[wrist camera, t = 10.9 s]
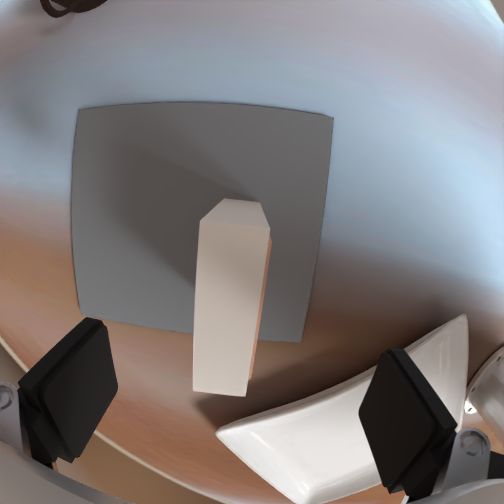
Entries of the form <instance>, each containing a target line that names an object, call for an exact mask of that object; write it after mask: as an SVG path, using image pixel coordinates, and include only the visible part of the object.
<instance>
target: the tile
mask: <svg viewBox="0 0 504 504" xmlns="http://www.w3.org/2000/svg"><path fill="white" fill-rule="evenodd" d="M271 245H272V240H271V237H270V227H269V224H268V222H267V219H266V217H265V214H264V212H263V209H262V207H261V204H260V202H253V201H244V200H235V199H226V198H224V199H223V200H222V201H221V202H220V203H219V204H217V205H216V206H215V207H214V208H213V209H212V210H211V211H210V212H209V213H208V214H207V215H206V216H205V217H204V218H202V219H201V220H200V227H199V240H198V253H197V269H196V287H195V308H194V338H193V391H199V392H206V393H214V394H222V395H232V396H243V397H245V396H246V390H247V384H248V379H251V376H252V370H253V364H254V357H255V351H256V345H257V339H258V332H259V326H260V319H261V313H262V306H263V300H264V293H265V286H266V279H267V273H268V266H269V259H270V252H271Z"/></svg>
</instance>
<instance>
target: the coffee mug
mask: <svg viewBox="0 0 504 504" xmlns="http://www.w3.org/2000/svg"><path fill="white" fill-rule="evenodd" d="M40 1H41V5H42V7H43V9H44V10H45V11H46V12H47V13H48V14H49V15H50V16H52V17H55V18H58V17H62V16H64V15H66V14H67V13H69V12H71V11H73V12H77V13H81V12H86V11H89V10H92V9H94V8H96V7H98V6H100V5H101V4H103V3H104V2H106V1H107V0H51V1H53V2H55V3H57V4H59V5H62V6H64V7H66V8H67V9H65V10H63V11H57V10H55V9H54V8H53V7H52V6H51V4H50V2H49V0H40Z"/></svg>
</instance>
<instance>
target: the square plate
mask: <svg viewBox="0 0 504 504" xmlns="http://www.w3.org/2000/svg"><path fill="white" fill-rule="evenodd" d="M468 347H469V340H468V321H467V316H466V315H465V314H461V315H459V316H458V317H456V318H454V319H452V320H450V321H449V322H447V323H445V324H443V325H442V326H440V327H438V328H437V329H435V330H433V331H431V332H430V333H428V334H427V335H425V336H423V337H422V338H420V339H419V340H417V341H415V342H414V343H412V344H411V345H409V346H408V347H406V348H405V349H404V350H405V351H406V352H407V354H408V355H409V356H410V358H411V359H412V360H413V362H414V363H415V364H416V366H417V367H418V368H419V370H420V371H421V372H422V374H423V375H424V376H425V378H426V379H427V381H428V382H429V383H430V385H431V386H432V387H433V389H434V390H435V392H436V393H437V395H438V396H439V397H440V399H441V400H442V402H443V403H444V405H445V406H446V407H447V409H448V410H449V412H450V413H451V415H452V416H453V418H454V419H455V421H456V422H457V424H458V426H457V427H456V429H455V431H456V433H458V432H459V431H460V430H461V426H462V419H463V412H464V404H465V395H466V385H467V371H468ZM376 367H377V365H376V366H374V367H372V368H370V369H368V370H366V371H365V372H363V373H361V374H359V375H357V376H355V377H353V378H351V379H349V380H347V381H345V382H342V383H340V384H338V385H336V386H333V387H331V388H329V389H326V390H324V391H321V392H319V393H317V394H314V395H311V396H309V397H306V398H304V399H301V400H298V401H295V402H292V403H289V404H286V405H283V406H280V407H277V408H273V409H270V410H267V411H264V412H261V413H258V414H255V415H251V416H248V417H245V418H242V419H239V420H236V421H234V422H231V423H229V424H227V425H225V426H221V427H220V428H219V429H218V430H217V431H216V432H215V434H216V436H217V437H218V438H219V439H220V440H221V441H222V442H223V443H224V444H225V445H226V446H227V447H228V448H229V449H230V450H231V451H232V452H233V453H234V454H235V455H236V456H237V457H239V458H240V459H241V460H242V461H243V462H244V463H245V464H246V465H248V466H249V467H250V468H251V469H252V470H253V471H255V472H256V473H257V474H258V475H260V476H261V477H262V478H263V479H264V480H266V481H267V482H268V483H269V484H271V485H272V486H273V487H274V488H276V489H277V490H278V491H280V492H281V493H282V494H283V495H285V496H286V497H287V498H289V499H290V500H292V501H293V502H294V503H296V504H321V503H325V502H329V501H332V500H336V499H339V498H342V497H345V496H349V495H352V494H354V493H357V492H360V491H363V490H366V489H368V488H370V487H373V486H375V485H378V484H380V483H382V482H381V479H380V476H379V473H378V470H377V467H376V464H375V461H374V458H373V455H372V452H371V450H370V447H369V444H368V441H367V438H366V435H365V433H364V430H363V427H362V424H361V422H360V419H359V415H358V411H359V407H360V405H361V403H362V401H363V398H364V396H365V394H366V392H367V389H368V387H369V384H370V382H371V380H372V377H373V375H374V372H375V370H376Z"/></svg>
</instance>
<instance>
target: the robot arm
mask: <svg viewBox="0 0 504 504" xmlns="http://www.w3.org/2000/svg"><path fill="white" fill-rule="evenodd" d="M18 384H19V386H20V388H19V389H18V390H16V388H15V387H14V386H13V385H11V384H9V383H6V382H0V504H135V503H132V502H129V501H126V500H123V499H120V498H117V497H114V496H111V495H109V494H106V493H103V492H101V491H98V490H96V489H93V488H91V487H88V486H86V485H84V484H82V483H79V482H77V481H75V480H73V479H70V478H68V477H66V476H64V475H62V474H60V473H59V472H58V468H57V465H56V460H57V458H58V457H59V458H61V459H63V460H66V461H67V462H70V463H72V462H73V461H74V459H75V457H76V458H78V457H80V455H81V454H82V452H83V450H84V448H85V447H86V445H87V443H88V441H89V439H90V438H91V436H92V434H93V432H94V431H95V429H96V427H97V425H98V424H99V422H100V420H101V418H102V417H103V415H104V413H105V412H106V410H107V408H108V407H109V405H110V403H111V401H112V400H113V398H114V396H115V395H116V393H117V390H118V383H117V378H116V374H115V369H114V364H113V359H112V354H111V348H110V342H109V336H108V330H107V327H106V326H105V325H104V324H103V322H102V321H101V320H97V319H93V318H89V317H86V318H84V319H83V320H82V321H81V322H80V323H79V324H78V325H77V326H76V327H74V328H73V329H72V330H71V331H70V332H69V333H68V334H67V335H66V336H65V337H64V338H63V339H61V340H60V341H59V342H58V343H57V344H56V345H55V346H54V347H53V348H52V349H51V350H50V351H49V352H48V353H47V354H46V355H45V356H44V357H43V358H42V359H40V360H39V361H38V362H37V363H36V364H35V365H34V366H33V367H32V368H31V369H30V370H29V371H28V372H27V373H26V374H25V375H24V376H23V377H22V378H21V380H20V381H19V382H18ZM464 412H465V413H468V414H471V413H475V412H478V413H479V414H480V416H481V417H482V418H483V420H484V421H485V422H486V424H487V425H488V426H489V428H490V429H491V430H492V432H493V433H494V434H495V436H496V437H497V438H498V440H499V441H500V443H501V444H502V445H503V447H504V347H502V348H500V349H499V350H498V351H496V352H495V353H494V354H493V355H492V356H491V357H490V358H489V359H488V360H487V361H486V362H485V363H484V364H483V365H482V367H481V368H480V369H479V370H478V372H477V373H476V374H475V376H474V377H473V379H472V380H471V381H470V383H469V385H468V387H467V388H466V395H465V404H464ZM358 415H359V419H360V422H361V424H362V427H363V430H364V433H365V435H366V438H367V441H368V444H369V447H370V450H371V452H372V455H373V458H374V461H375V464H376V467H377V470H378V473H379V476H380V479H381V482H382V484H383V486H384V487H387V489H388V492H389V494H391V493H395V492H399V491H402V490H404V491H405V493H406V495H405V497H404V499H403V501H402V503H401V504H504V455H502V454H499V453H496V452H493V451H490V450H491V445H490V441H489V438H488V437H487V436H486V434H485V433H483V432H482V431H481V430H479V429H476V428H472V427H468V428H463V429H461V430H460V431H459V432H458V433H456V431H455V429H456V427H457V426H458V424H457V422H456V421H455V419H454V418H453V416H452V415H451V413H450V412H449V410H448V409H447V407H446V406H445V405H444V403H443V402H442V400H441V399H440V397H439V396H438V395H437V393H436V392H435V390H434V389H433V387H432V386H431V385H430V383H429V382H428V381H427V379H426V378H425V376H424V375H423V374H422V372H421V371H420V370H419V368H418V367H417V366H416V364H415V363H414V362H413V360H412V359H411V358H410V356H409V355H408V354H407V352H406V351H405V350H404V349H388V350H387V351H386V352H385V353H383V354H382V355H381V357H380V359H379V362H378V364H377V367H376V370H375V372H374V375H373V377H372V380H371V382H370V384H369V387H368V389H367V392H366V394H365V396H364V398H363V401H362V403H361V405H360V407H359V411H358Z"/></svg>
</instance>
